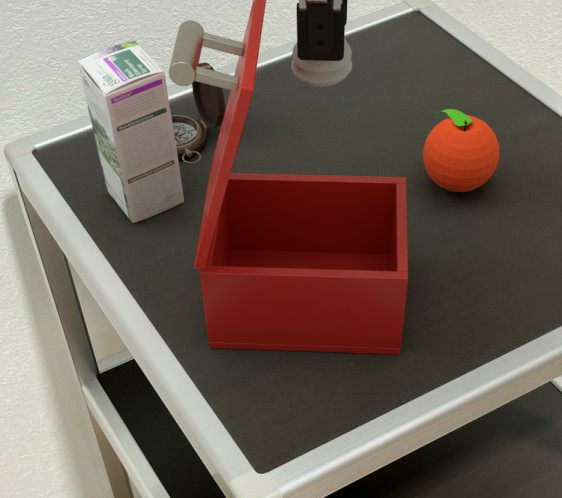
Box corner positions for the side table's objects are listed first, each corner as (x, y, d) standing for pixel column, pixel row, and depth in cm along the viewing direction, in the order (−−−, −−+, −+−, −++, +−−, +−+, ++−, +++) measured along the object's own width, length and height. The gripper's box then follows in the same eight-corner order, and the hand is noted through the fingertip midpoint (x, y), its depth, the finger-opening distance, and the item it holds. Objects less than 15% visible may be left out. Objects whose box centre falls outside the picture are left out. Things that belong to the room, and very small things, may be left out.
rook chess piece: (309, 96, 68) (308, -10, 62) (280, 64, 71) (276, -40, 65) (363, 77, 70) (368, -28, 63) (332, 47, 72) (334, -58, 66)
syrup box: (186, 202, 91) (169, 68, 79) (130, 226, 89) (104, 92, 78) (158, 170, 94) (137, 35, 83) (103, 192, 92) (74, 58, 81)
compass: (135, 135, 97) (124, 72, 92) (206, 111, 99) (200, 48, 94) (166, 180, 93) (156, 117, 87) (240, 154, 95) (235, 91, 89)
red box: (398, 254, 86) (406, 176, 79) (399, 355, 79) (408, 279, 72) (223, 249, 87) (216, 172, 80) (209, 348, 79) (199, 272, 73)
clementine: (400, 166, 93) (406, 104, 88) (462, 145, 95) (471, 83, 89) (444, 216, 89) (452, 154, 83) (508, 193, 90) (520, 131, 85)
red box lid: (267, -10, 67) (191, -31, 66) (253, 91, 60) (167, 68, 59) (220, 169, 80) (155, 153, 79) (204, 269, 72) (132, 253, 71)
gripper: (388, -191, 49) (372, 114, 63) (393, -304, 59) (378, -20, 73) (239, -191, 49) (257, 111, 63) (270, -304, 59) (280, -22, 74)
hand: (322, 38), depth 68 cm, fingers closed on rook chess piece, 3 cm apart
